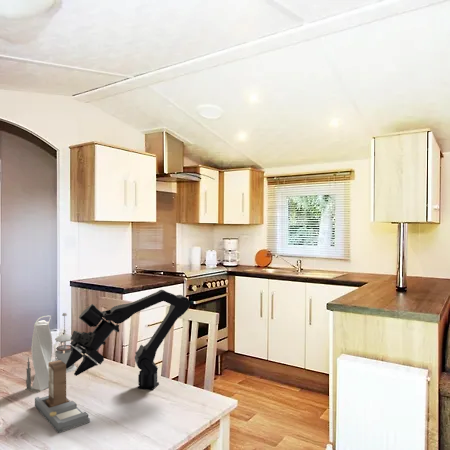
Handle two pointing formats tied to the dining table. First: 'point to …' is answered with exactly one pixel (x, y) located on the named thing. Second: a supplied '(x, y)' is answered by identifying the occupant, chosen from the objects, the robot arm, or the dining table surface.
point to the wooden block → (57, 383)
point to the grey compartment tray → (62, 414)
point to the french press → (64, 348)
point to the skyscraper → (40, 356)
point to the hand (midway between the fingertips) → (70, 371)
